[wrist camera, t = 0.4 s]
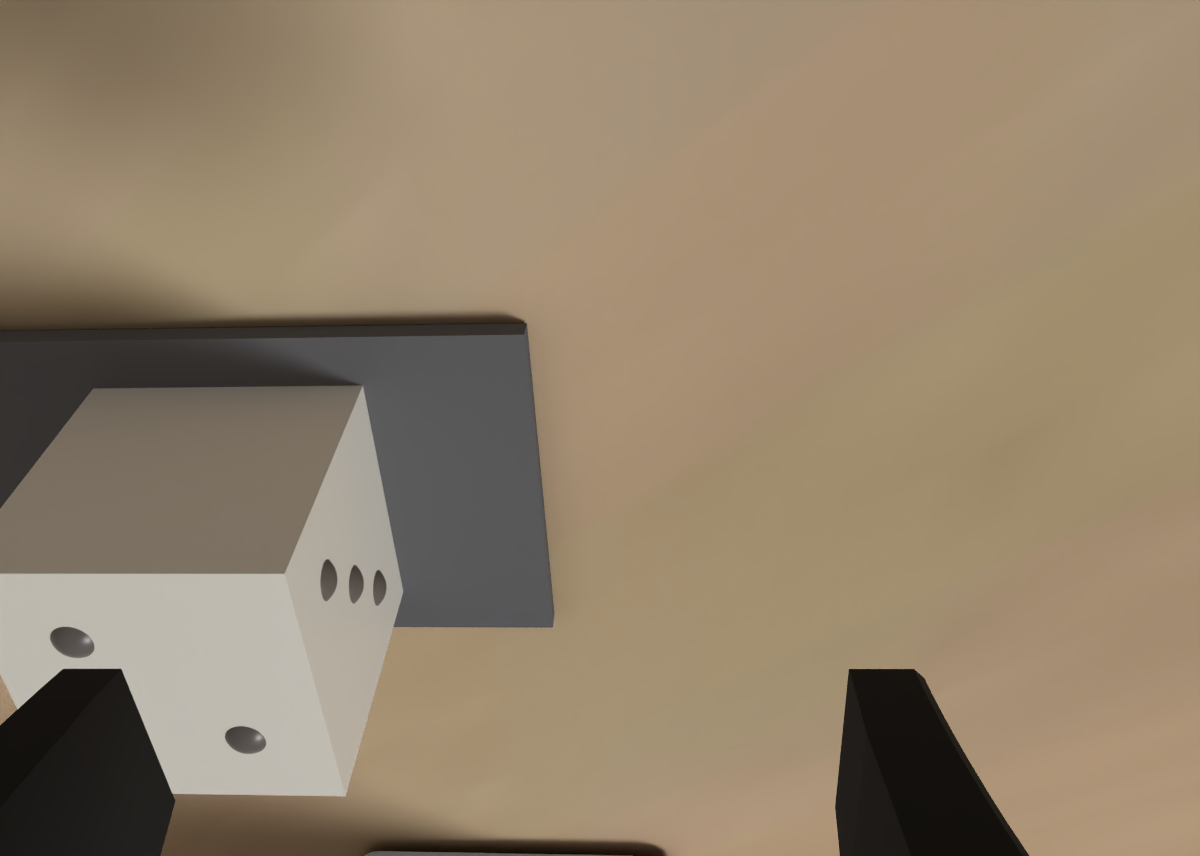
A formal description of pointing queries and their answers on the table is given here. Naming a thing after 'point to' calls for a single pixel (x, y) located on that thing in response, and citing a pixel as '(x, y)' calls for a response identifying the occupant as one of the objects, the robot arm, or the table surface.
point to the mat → (399, 427)
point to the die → (211, 576)
